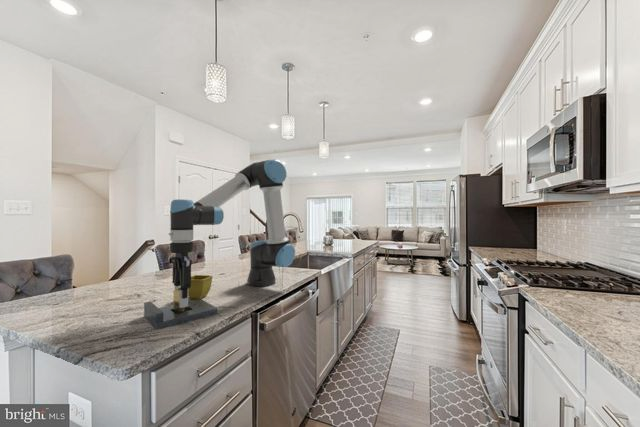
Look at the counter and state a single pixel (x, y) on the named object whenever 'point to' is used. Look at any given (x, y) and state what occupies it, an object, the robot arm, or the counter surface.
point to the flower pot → (199, 286)
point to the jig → (168, 317)
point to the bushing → (176, 303)
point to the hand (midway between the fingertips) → (181, 305)
